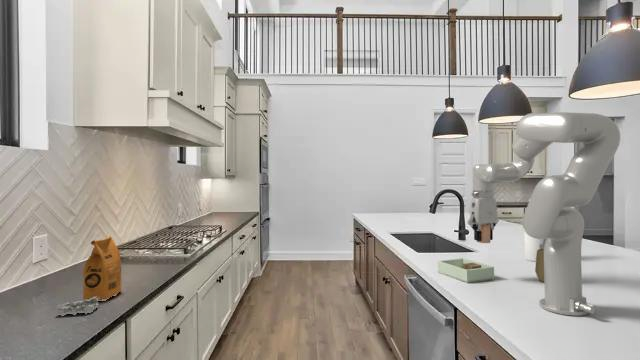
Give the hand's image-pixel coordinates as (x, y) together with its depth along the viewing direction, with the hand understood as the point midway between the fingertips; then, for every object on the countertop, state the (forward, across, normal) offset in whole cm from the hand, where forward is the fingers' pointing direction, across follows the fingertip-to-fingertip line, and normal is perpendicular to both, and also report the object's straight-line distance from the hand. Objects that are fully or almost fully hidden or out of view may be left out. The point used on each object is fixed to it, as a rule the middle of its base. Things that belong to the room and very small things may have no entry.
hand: (483, 239), depth 138 cm
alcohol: (+17, +47, +16) cm, 52 cm away
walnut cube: (+16, -3, +3) cm, 16 cm away
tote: (+16, -3, +7) cm, 18 cm away
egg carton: (+17, -147, +21) cm, 149 cm away
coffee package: (+17, -143, +35) cm, 149 cm away
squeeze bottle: (+16, +20, -12) cm, 28 cm away
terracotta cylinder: (+1, 0, 0) cm, 1 cm away
